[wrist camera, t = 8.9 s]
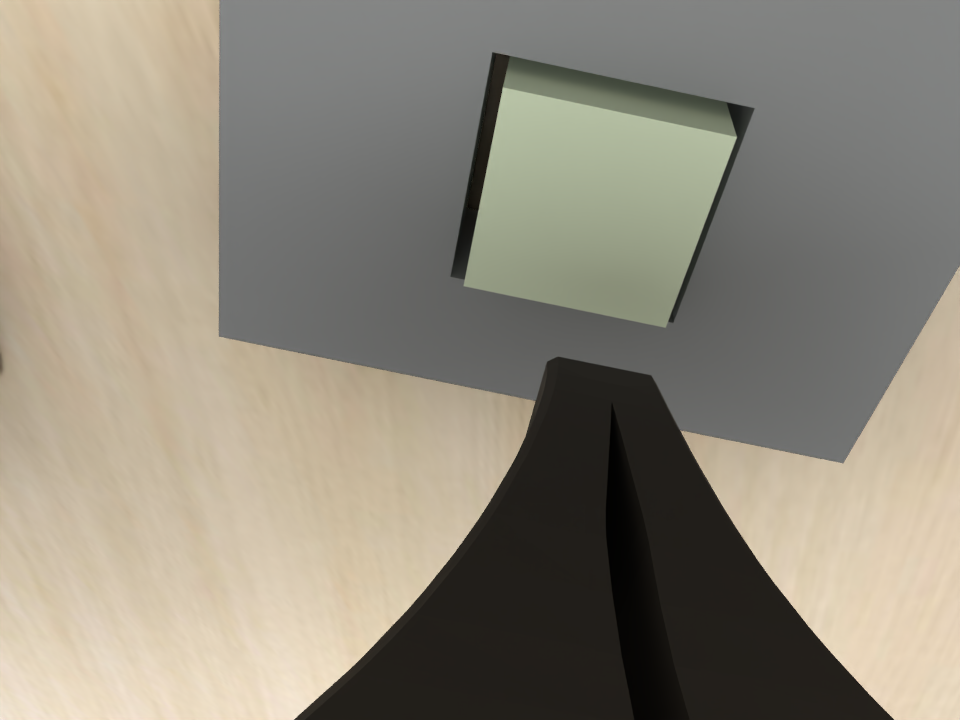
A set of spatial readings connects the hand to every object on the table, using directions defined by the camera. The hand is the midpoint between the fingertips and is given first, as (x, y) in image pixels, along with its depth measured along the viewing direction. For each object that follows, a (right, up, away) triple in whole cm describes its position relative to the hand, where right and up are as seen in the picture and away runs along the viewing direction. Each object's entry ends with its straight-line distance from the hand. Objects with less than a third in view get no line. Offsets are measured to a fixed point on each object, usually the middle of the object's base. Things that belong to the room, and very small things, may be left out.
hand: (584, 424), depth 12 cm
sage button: (+1, +5, +7) cm, 9 cm away
